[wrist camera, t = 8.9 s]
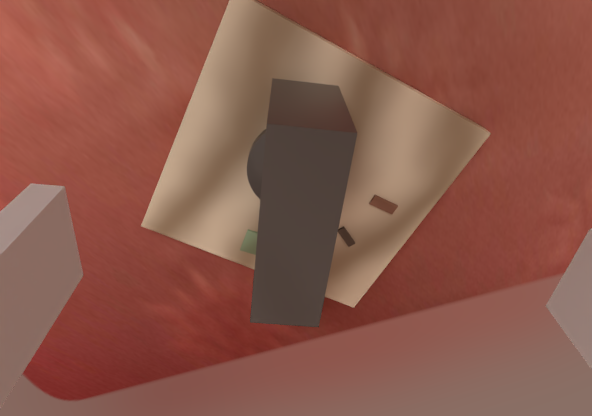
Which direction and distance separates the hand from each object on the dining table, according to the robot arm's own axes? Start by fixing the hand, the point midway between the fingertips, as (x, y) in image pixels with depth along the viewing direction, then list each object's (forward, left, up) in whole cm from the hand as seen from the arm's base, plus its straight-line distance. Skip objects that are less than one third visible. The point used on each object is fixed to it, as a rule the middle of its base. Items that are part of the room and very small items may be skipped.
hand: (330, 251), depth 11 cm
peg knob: (+3, -7, -18) cm, 19 cm away
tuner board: (+4, -6, -19) cm, 21 cm away
